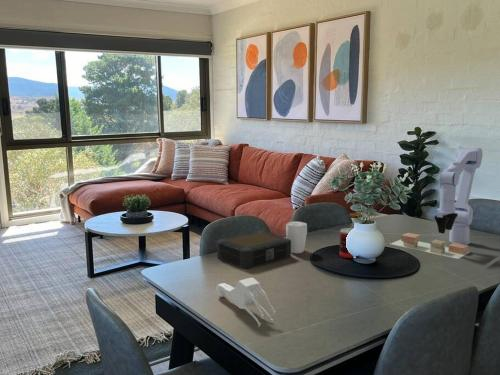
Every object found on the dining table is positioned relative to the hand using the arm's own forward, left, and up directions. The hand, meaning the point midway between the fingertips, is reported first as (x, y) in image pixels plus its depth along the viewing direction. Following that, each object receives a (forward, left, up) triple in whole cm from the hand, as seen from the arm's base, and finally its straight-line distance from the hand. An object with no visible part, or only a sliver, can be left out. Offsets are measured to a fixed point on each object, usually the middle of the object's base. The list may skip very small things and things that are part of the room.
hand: (445, 231), depth 201 cm
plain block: (+4, -1, -8) cm, 9 cm away
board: (+1, -6, -9) cm, 11 cm away
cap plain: (-2, +5, -8) cm, 10 cm away
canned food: (+33, -26, -9) cm, 43 cm away
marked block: (+4, -13, -8) cm, 16 cm away
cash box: (+62, -53, -10) cm, 82 cm away
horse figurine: (+101, -19, -10) cm, 104 cm away
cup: (+43, -46, -9) cm, 64 cm away
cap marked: (+4, -13, -6) cm, 15 cm away
